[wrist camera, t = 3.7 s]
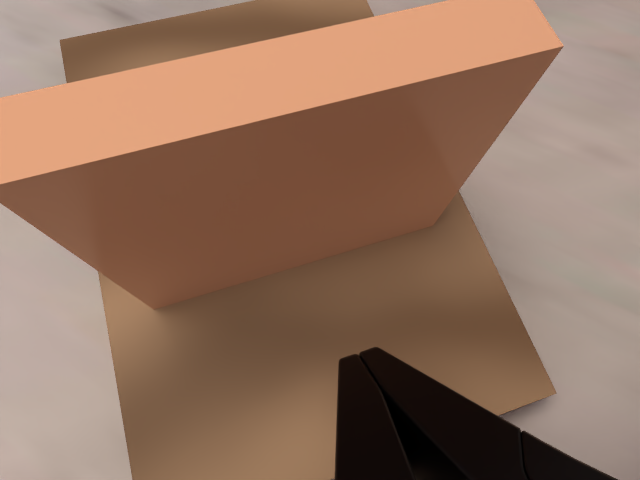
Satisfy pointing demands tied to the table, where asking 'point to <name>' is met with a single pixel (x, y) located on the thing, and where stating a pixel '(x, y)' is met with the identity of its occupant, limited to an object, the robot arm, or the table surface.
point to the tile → (270, 145)
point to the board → (295, 307)
